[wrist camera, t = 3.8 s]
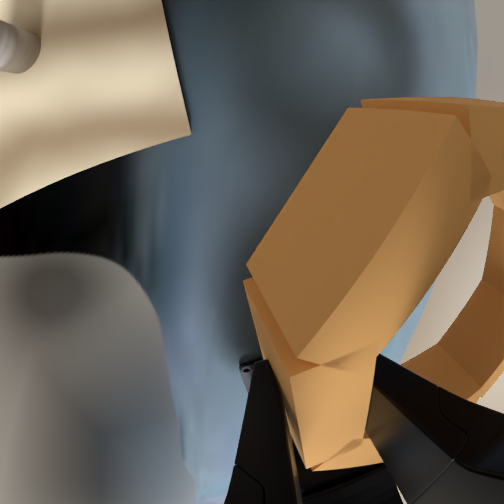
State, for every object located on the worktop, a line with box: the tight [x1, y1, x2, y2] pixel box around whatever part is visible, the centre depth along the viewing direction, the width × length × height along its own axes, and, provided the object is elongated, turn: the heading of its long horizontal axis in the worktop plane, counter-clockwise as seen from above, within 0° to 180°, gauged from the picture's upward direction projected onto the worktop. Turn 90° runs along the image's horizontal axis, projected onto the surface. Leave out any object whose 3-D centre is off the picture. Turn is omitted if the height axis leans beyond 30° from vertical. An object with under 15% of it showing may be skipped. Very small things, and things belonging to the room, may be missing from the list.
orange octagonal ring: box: [243, 97, 504, 471], centre depth 8 cm, size 13×13×4 cm
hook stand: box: [0, 0, 192, 208], centre depth 8 cm, size 16×16×6 cm
